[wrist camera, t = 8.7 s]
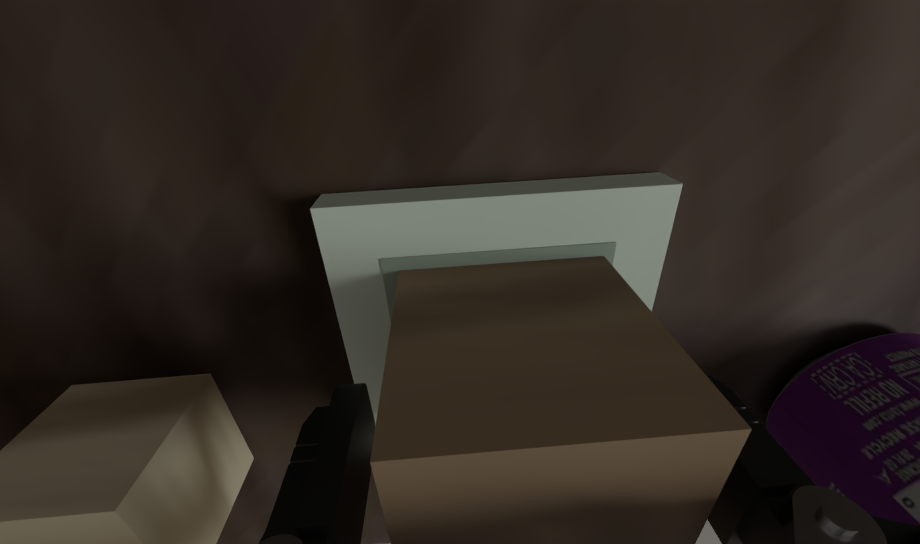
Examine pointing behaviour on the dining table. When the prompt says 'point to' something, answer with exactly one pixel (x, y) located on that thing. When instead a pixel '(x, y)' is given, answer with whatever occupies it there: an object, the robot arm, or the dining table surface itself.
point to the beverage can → (858, 424)
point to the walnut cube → (543, 412)
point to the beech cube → (125, 466)
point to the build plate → (481, 241)
